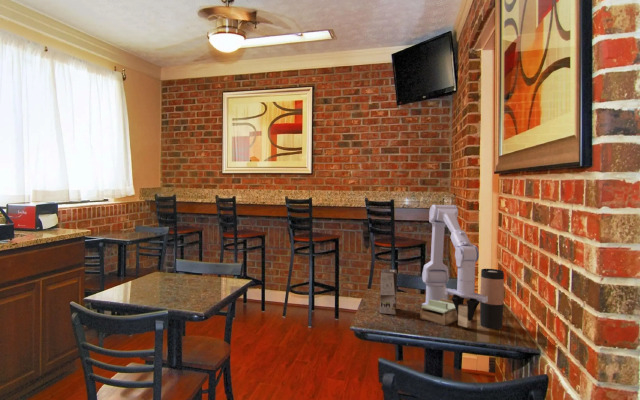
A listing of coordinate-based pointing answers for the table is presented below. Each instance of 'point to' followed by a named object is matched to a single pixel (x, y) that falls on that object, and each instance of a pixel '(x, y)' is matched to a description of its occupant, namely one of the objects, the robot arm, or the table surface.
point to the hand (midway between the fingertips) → (465, 318)
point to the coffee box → (388, 291)
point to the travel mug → (492, 298)
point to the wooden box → (439, 315)
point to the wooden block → (463, 316)
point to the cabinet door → (439, 306)
